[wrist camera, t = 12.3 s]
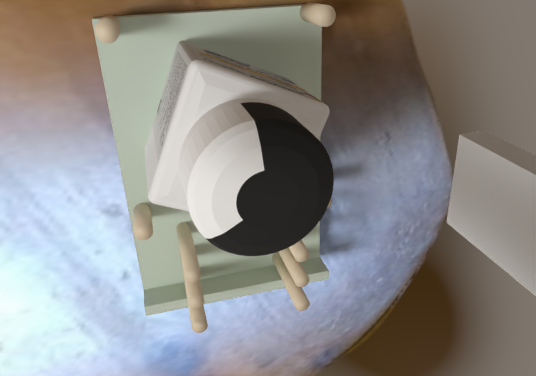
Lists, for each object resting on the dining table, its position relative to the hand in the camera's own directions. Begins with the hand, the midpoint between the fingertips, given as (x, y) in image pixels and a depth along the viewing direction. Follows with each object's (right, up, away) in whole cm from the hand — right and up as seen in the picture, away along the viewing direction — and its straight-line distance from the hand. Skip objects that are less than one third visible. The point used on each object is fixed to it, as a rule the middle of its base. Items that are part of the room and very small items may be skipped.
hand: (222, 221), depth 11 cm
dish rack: (-2, +3, +22) cm, 22 cm away
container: (-2, +6, +19) cm, 20 cm away
